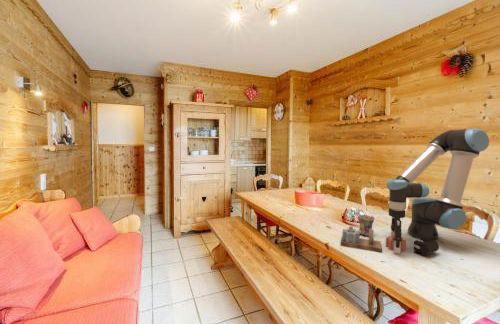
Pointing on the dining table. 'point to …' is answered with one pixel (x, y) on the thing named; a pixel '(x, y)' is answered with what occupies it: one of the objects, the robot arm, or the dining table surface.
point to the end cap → (425, 246)
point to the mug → (365, 224)
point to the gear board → (364, 242)
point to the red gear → (391, 243)
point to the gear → (351, 236)
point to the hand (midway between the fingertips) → (395, 247)
